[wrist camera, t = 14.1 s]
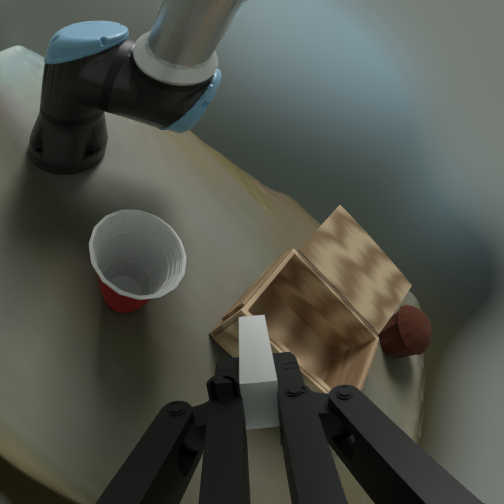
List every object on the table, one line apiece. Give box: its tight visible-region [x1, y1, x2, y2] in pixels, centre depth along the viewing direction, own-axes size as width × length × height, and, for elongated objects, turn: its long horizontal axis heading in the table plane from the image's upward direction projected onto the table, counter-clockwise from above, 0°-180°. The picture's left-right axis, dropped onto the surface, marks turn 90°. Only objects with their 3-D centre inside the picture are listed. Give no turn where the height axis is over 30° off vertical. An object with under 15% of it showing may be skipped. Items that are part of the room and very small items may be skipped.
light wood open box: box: [209, 248, 379, 393], centre depth 42 cm, size 21×14×10 cm
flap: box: [298, 205, 411, 334], centre depth 45 cm, size 19×1×10 cm
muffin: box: [378, 305, 432, 358], centre depth 57 cm, size 12×11×10 cm
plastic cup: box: [89, 210, 186, 313], centre depth 34 cm, size 11×11×12 cm
